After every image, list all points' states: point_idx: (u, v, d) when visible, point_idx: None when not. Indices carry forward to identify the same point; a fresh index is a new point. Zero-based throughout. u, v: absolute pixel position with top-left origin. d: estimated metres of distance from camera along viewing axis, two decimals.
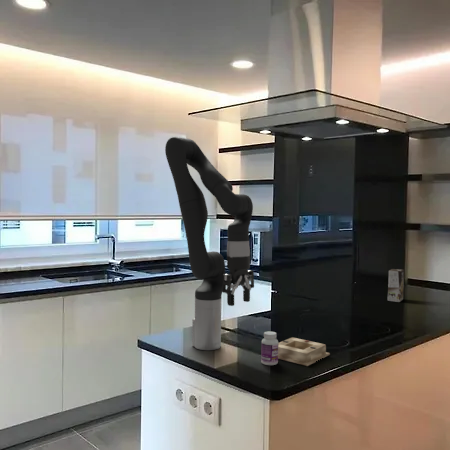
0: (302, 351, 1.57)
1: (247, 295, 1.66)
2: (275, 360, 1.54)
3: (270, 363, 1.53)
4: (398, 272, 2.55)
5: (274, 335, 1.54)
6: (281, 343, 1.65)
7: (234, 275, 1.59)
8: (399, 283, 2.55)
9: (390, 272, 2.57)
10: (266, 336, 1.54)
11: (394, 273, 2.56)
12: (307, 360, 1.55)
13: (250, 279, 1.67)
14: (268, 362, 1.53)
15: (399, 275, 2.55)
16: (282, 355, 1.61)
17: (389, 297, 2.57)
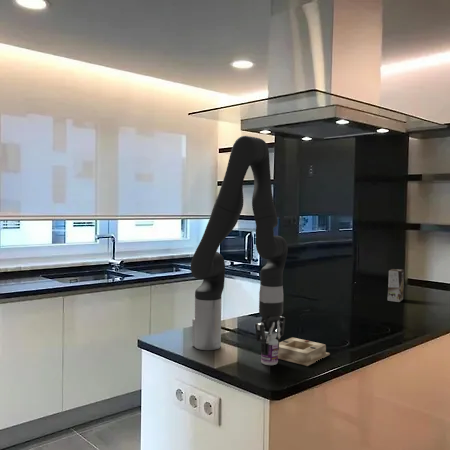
0: (302, 351, 1.57)
1: None
2: (275, 360, 1.54)
3: (270, 363, 1.53)
4: (398, 272, 2.55)
5: (274, 335, 1.54)
6: (281, 343, 1.65)
7: (267, 322, 1.52)
8: (399, 283, 2.55)
9: (390, 272, 2.57)
10: None
11: (394, 273, 2.56)
12: (307, 360, 1.55)
13: (281, 326, 1.59)
14: (268, 362, 1.53)
15: (399, 275, 2.55)
16: (282, 355, 1.61)
17: (389, 297, 2.57)
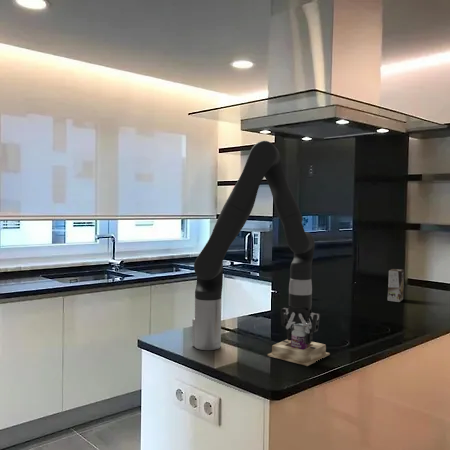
0: (302, 351, 1.57)
1: None
2: None
3: None
4: (398, 272, 2.55)
5: (295, 327, 1.63)
6: (281, 343, 1.65)
7: (288, 310, 1.65)
8: (399, 283, 2.55)
9: (390, 272, 2.57)
10: None
11: (394, 273, 2.56)
12: (307, 360, 1.55)
13: None
14: None
15: (399, 275, 2.55)
16: (282, 355, 1.61)
17: (389, 297, 2.57)
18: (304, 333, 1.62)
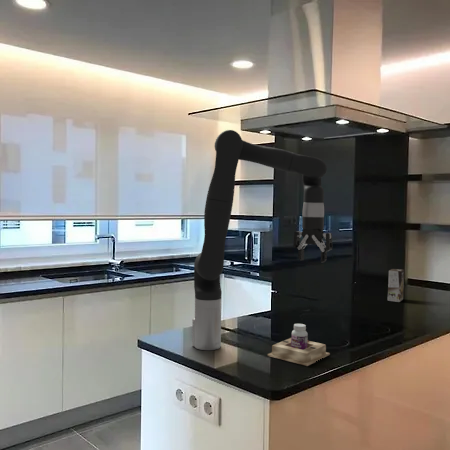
0: (302, 351, 1.57)
1: None
2: None
3: None
4: (398, 272, 2.55)
5: (295, 327, 1.62)
6: (281, 343, 1.65)
7: (302, 233, 1.76)
8: (399, 283, 2.55)
9: (390, 272, 2.57)
10: None
11: (394, 273, 2.56)
12: (307, 360, 1.55)
13: None
14: None
15: (399, 275, 2.55)
16: (282, 355, 1.61)
17: (389, 297, 2.57)
18: (304, 333, 1.62)
